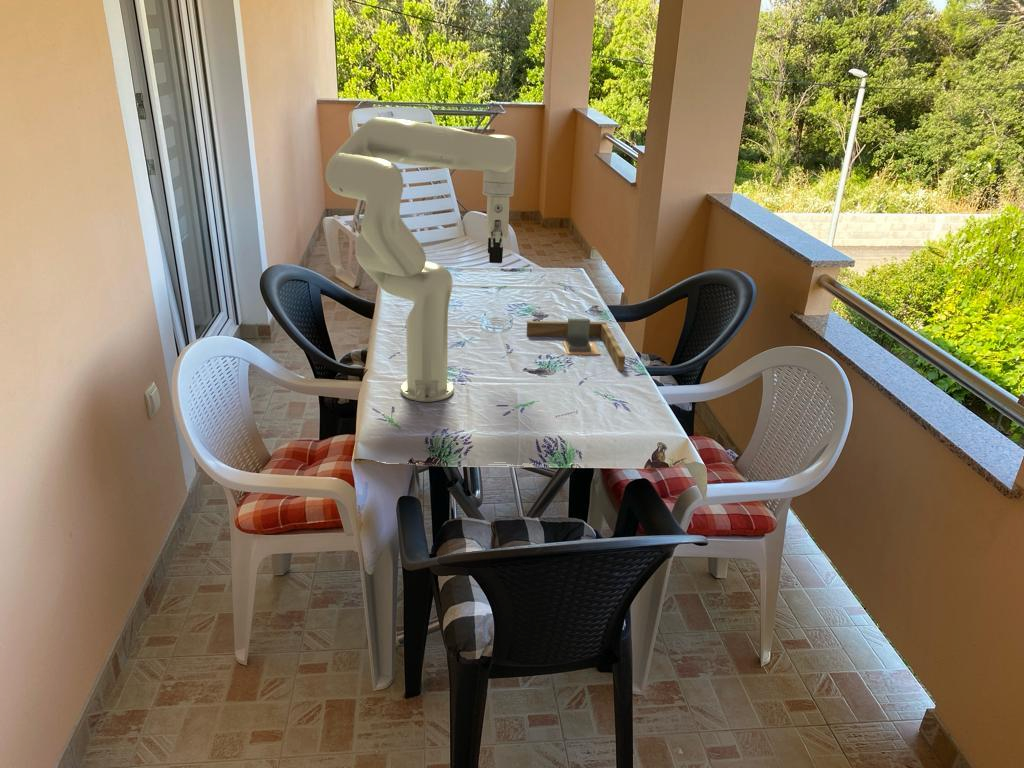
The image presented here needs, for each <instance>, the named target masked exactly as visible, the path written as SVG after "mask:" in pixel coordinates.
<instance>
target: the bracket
mask: <svg viewBox="0 0 1024 768" xmlns="http://www.w3.org/2000/svg"><path fill="white" fill-rule="evenodd" d="M567 322H568V324H567V336H565V338H566V339H565V340H566V341H565V342H566V345H567V348H568V350H569V352H591V346H590V344H589V342H590V341H589V338H590V337H589V327H590V322H591V320H590V318H567Z"/></svg>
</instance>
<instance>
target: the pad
mask: <svg viewBox="0 0 1024 768" xmlns="http://www.w3.org/2000/svg"><path fill="white" fill-rule="evenodd" d="M562 344H563V347H564V349H565V351H566V354H567V355H568V356H571V355H573V356H600V355H601V353H600V351H599V348H598V347H597V345H596V343H595V341H589V344H590V346H591V352H569V350H568V348H567V345H566V341H562Z"/></svg>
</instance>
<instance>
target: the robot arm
mask: <svg viewBox="0 0 1024 768" xmlns="http://www.w3.org/2000/svg"><path fill="white" fill-rule="evenodd" d="M516 159H517V140H516V138H515V137H514V136H512V135H507V134H489V135H488V134H481V133H476V132H471V131H468V130H467V131H466V130H463V129H460V128H459V129H458V128H455V127H450V126H446V125H440V124H439V125H437V124H432V123H426V122H422V121H421V122H420V121H414V120H408V119H399V118H390V117H382V116H376V117H375V116H374V117H373V118H370V119H368V120H367V121H366V122H364V123H363V124H362V125H361V126H360V127H358V129H356V131H354V132H353V133H352V135H350V137H349V138H347V140H346V141H345V142H343V144H342V145H341V146H340V147H339V148H338V149H337V150H336V152H335V153H334V154H333V155H332V156H331V157H330V159H329V161H328V163H327V165H326V169H325V180H326V184H327V186H328V188H329V189H330V190H331V191H332V192H333V193H335V194H336V195H338V196H341V197H344V198H349V199H353V200H354V199H355V200H360V201H363V202H366V204H365V209H364V212H363V216H362V220H361V224H360V230H361V231H360V233H359V234H358V235H357V237H356V240H355V243H354V252H355V257H356V260H357V262H358V264H359V265H360V267H361V268H362V269H363V270H364V271H365V272H366V273H367V275H369V277H370V278H371V279H372V280H373V281H374V282H375V283H376V284H377V285H378V287H380V289H382V290H383V291H384V292H385V293H387V294H388V295H391V296H393V297H398V298H401V299H404V300H408V301H410V302H413V305H412V306H413V307H412V308H411V310H410V312H409V313H408V314H407V318H406V324H405V328H406V329H405V330H406V377H407V378H406V380H405V381H404V382H403V383H402V384H401V385H400V393H401V394H402V396H404V397H405V398H407V399H409V400H412V401H415V402H421V403H423V402H425V403H430V402H431V403H432V402H438V401H439V402H440V401H442V400H446V399H448V398H449V397H451V396H452V395H453V394H454V391H455V389H454V388H455V387H454V384H453V383H452V382H451V381H450V380H448V353H449V352H448V350H449V349H448V347H449V346H448V345H449V344H448V339H449V338H448V334H449V332H448V331H449V330H448V328H449V327H448V326H449V325H448V324H449V323H448V322H449V308H450V301H451V295H452V291H453V284H454V283H453V281H454V280H453V276H452V274H451V272H450V271H449V270H448V269H447V268H446V267H445V266H443V265H441V264H439V263H436V262H433V261H429V260H427V256H426V252H425V250H424V247H423V246H422V243H420V241H419V240H418V239H417V237H416V236H415V234H414V233H413V232H412V231H411V230H410V228H409V227H408V226H407V224H406V223H405V221H404V219H402V217H401V214H400V211H401V210H400V209H401V202H402V197H403V192H404V179H403V174H402V172H401V171H400V168H399V167H398V166H397V165H396V164H395V163H397V164H402V165H403V164H404V165H411V166H421V167H431V168H440V169H451V170H471V171H472V170H474V171H481V172H483V177H482V178H483V179H482V182H483V183H482V195H484V196H486V197H487V198H486V199H487V200H486V229H487V234H488V235H487V236H488V239H487V240H488V241H487V254H489V257H488V262H489V263H490V264H503V255H504V247H503V237H504V238H505V239H507V238H508V237H509V220H510V197H514V194H515V193H514V191H515V190H514V189H515V178H516V177H515V171H516V161H517V160H516Z"/></svg>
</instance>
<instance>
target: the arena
mask: <svg viewBox="0 0 1024 768" xmlns="http://www.w3.org/2000/svg"><path fill="white" fill-rule="evenodd" d="M567 324H568V321H543V320H542V321H538V320H537V321H536V320H527V321H526V337H566V336H567ZM591 337H592V338H600V339H601V341H602V343H603V345H604V347H605V348H606V351H607V353H608V354H609V356H610V358H611V360H612V363H613V364H614V366H615V368H616V369H617V371H618V372H621V371H623V372H624V370H625V364H626V363H625V362H626V356H625V353H624V352H623V350H622V348H621V346H620V345H619V343H618V342H617V339H616V338H615V337H614V334H613V333H612V331H611V329H610V328H609V325H608V324H607V322H605V321H590V327H589V338H591Z"/></svg>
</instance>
